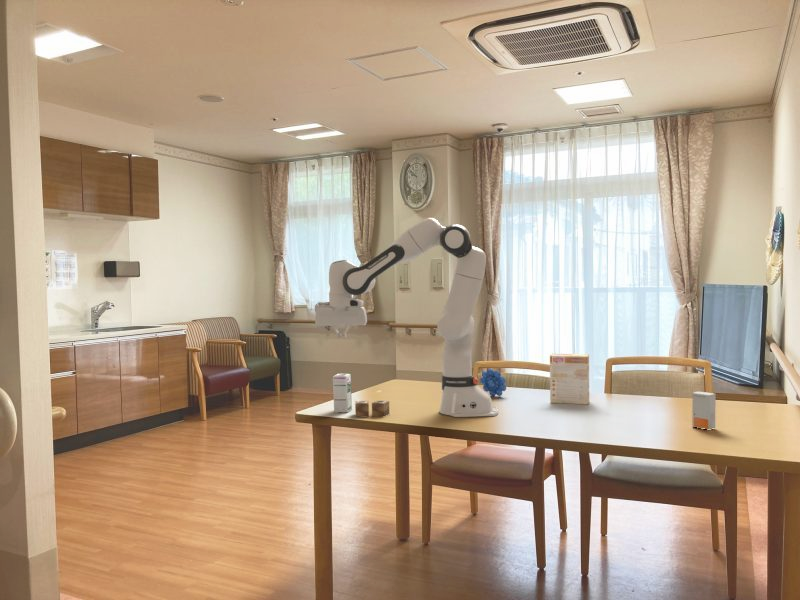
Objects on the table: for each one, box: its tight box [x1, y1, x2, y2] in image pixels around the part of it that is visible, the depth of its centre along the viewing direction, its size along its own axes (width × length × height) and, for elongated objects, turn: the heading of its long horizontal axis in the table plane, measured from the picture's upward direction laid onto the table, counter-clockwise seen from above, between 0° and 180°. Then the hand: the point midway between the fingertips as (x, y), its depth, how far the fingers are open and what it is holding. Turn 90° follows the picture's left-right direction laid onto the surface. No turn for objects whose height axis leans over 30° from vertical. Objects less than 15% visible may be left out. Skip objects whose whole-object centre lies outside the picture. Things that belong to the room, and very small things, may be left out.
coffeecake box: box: [549, 353, 590, 405], centre depth 265 cm, size 15×7×20 cm, turn 69°
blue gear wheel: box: [479, 368, 507, 397], centre depth 280 cm, size 12×7×12 cm, turn 64°
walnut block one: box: [354, 400, 370, 417], centre depth 247 cm, size 5×5×5 cm
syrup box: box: [332, 372, 353, 413], centre depth 255 cm, size 6×6×14 cm
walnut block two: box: [371, 400, 390, 417], centre depth 247 cm, size 5×5×5 cm
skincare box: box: [691, 391, 717, 429], centre depth 218 cm, size 6×4×12 cm
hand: (341, 337), depth 254 cm, fingers closed
